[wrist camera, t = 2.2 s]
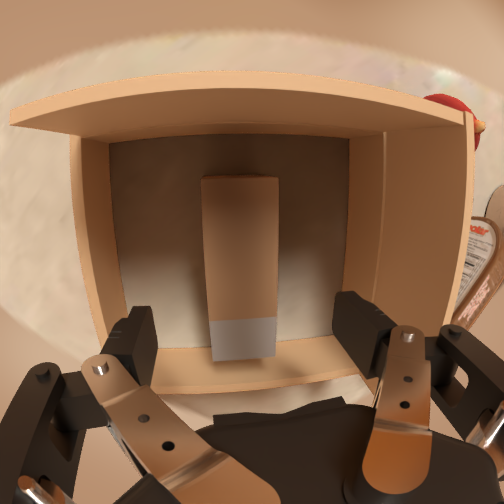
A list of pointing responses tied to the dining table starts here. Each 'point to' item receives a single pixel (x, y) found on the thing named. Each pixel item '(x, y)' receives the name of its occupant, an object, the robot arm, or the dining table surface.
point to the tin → (479, 271)
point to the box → (241, 264)
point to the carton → (359, 203)
